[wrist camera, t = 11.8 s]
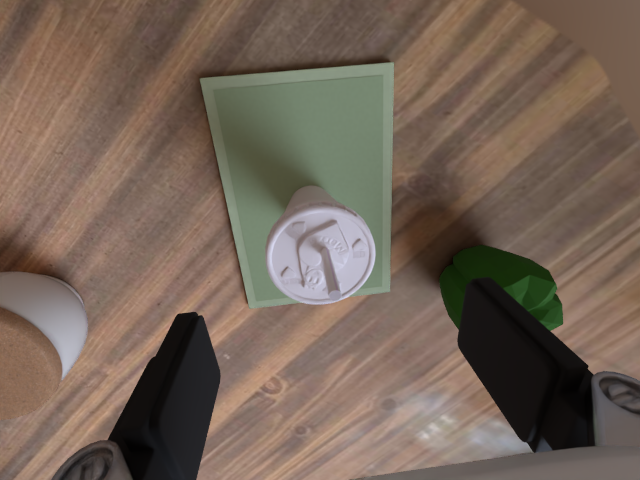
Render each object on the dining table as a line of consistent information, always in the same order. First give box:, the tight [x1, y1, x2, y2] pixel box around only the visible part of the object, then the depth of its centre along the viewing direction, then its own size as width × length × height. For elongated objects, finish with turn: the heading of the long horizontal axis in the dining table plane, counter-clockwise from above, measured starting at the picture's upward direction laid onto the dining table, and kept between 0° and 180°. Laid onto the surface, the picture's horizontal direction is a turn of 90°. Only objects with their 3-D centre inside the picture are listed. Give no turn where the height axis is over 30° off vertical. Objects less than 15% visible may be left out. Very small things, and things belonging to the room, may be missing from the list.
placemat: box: [200, 62, 394, 309], centre depth 26 cm, size 20×14×1 cm
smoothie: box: [265, 185, 376, 304], centre depth 20 cm, size 6×6×14 cm
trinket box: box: [0, 272, 88, 420], centre depth 24 cm, size 11×11×9 cm
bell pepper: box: [439, 245, 563, 331], centre depth 26 cm, size 8×8×10 cm
